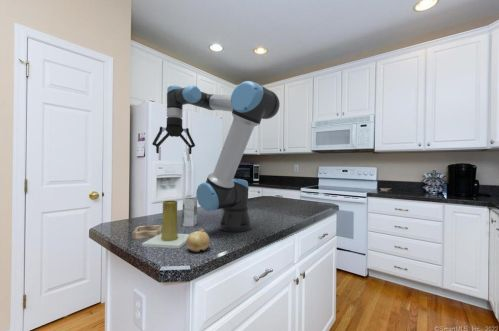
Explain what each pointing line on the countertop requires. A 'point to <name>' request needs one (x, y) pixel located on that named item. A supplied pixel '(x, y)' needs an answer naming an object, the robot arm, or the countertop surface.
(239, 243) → the countertop surface
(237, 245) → the countertop surface
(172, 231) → the vase
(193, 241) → the onion
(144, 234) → the collar
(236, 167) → the robot arm
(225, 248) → the countertop surface
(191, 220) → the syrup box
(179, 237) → the tile
